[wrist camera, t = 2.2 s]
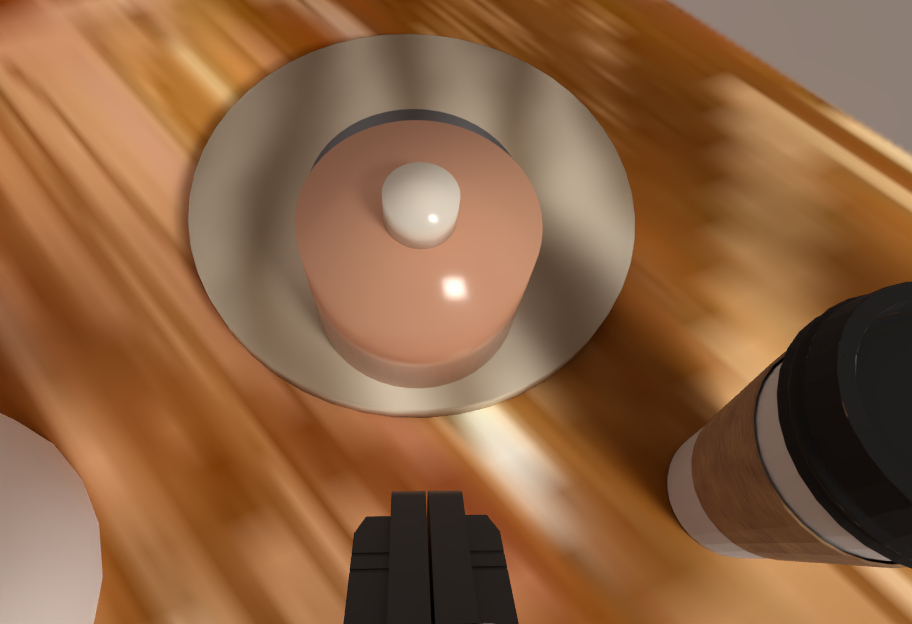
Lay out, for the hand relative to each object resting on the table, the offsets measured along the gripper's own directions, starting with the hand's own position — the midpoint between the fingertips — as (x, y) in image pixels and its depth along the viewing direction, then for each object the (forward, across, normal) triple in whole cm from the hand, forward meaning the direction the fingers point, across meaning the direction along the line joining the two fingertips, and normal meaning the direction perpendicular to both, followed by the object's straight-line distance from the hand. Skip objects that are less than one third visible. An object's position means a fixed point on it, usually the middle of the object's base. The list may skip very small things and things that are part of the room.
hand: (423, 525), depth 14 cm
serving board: (+25, 0, -2) cm, 25 cm away
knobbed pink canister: (+19, 0, +1) cm, 19 cm away
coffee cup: (+14, -15, +9) cm, 22 cm away
